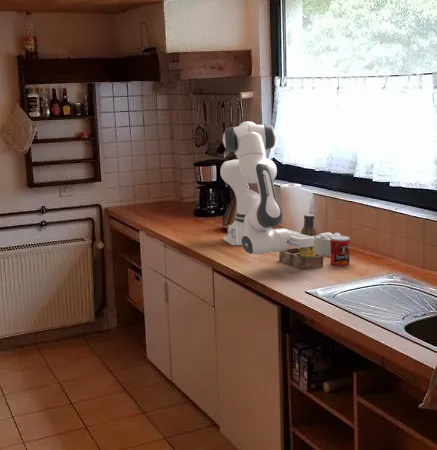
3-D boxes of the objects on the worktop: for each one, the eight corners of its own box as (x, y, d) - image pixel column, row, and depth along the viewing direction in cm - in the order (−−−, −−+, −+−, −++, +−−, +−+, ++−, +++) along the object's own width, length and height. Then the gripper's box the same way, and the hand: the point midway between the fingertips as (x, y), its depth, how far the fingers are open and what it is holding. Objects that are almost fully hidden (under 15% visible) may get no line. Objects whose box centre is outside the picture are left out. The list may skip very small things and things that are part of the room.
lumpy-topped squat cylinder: (330, 249, 319) (330, 230, 317) (350, 254, 308) (350, 234, 306) (312, 252, 313) (312, 232, 312) (331, 257, 302) (331, 237, 301)
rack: (279, 260, 299) (279, 250, 298) (297, 257, 303) (297, 247, 302) (304, 269, 283) (304, 258, 282) (322, 266, 287) (323, 255, 287)
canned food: (334, 266, 287) (334, 240, 285) (327, 262, 295) (327, 236, 292) (352, 265, 288) (352, 238, 286) (345, 261, 296) (345, 235, 294)
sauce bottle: (297, 264, 287) (297, 215, 283) (302, 260, 293) (303, 212, 289) (312, 265, 284) (313, 216, 281) (317, 262, 290) (318, 213, 286)
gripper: (296, 236, 271) (325, 232, 277) (267, 227, 288) (295, 224, 295) (296, 252, 272) (325, 248, 278) (267, 243, 290) (295, 239, 296)
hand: (310, 235), depth 287 cm, fingers closed on sauce bottle, 6 cm apart
